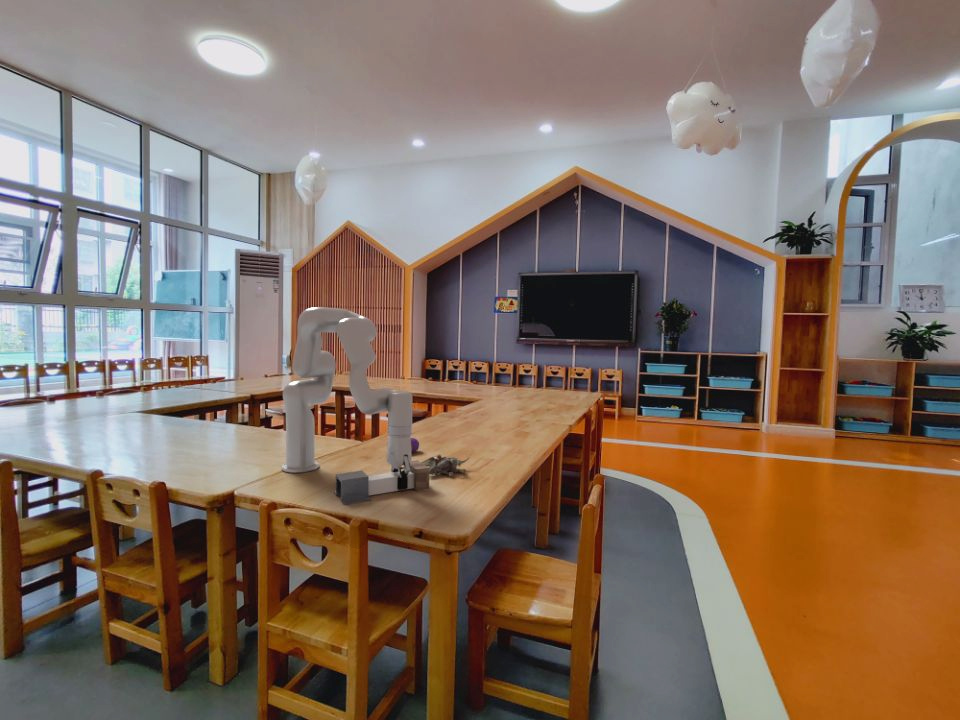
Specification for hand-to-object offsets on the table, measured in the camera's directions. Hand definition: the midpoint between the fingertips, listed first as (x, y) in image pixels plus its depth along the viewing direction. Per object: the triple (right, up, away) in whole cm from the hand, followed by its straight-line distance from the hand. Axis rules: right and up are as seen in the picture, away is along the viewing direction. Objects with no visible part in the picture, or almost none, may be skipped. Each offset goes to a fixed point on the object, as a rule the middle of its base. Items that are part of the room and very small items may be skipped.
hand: (399, 486), depth 151 cm
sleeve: (-13, -1, -8) cm, 15 cm away
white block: (-3, -1, -1) cm, 3 cm away
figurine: (+11, 0, +20) cm, 23 cm away
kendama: (-5, +1, +38) cm, 39 cm away
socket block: (+5, -1, +3) cm, 6 cm away
